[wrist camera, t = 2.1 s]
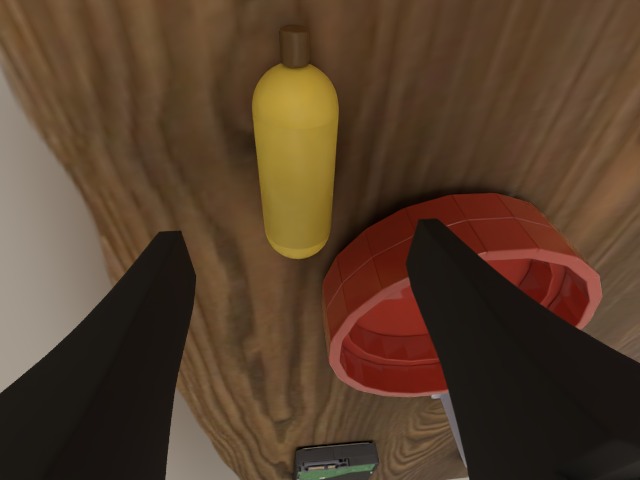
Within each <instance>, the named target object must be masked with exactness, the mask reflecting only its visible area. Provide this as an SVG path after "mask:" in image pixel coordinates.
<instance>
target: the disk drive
mask: <svg viewBox="0 0 640 480" xmlns="http://www.w3.org/2000/svg"><path fill="white" fill-rule="evenodd" d="M378 465H379V458H378V453H377V448H376V443H369V442H367V443H356V444H346V445H335V446H323V447H314V448H303V449H301V450H297V451H296V456H295V466H294V474H293V480H368V479H369V478H370V476H371V475H372V474H373V472H374V471H375V470H376V469H377V466H378Z"/></svg>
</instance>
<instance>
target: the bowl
mask: <svg viewBox="0 0 640 480" xmlns="http://www.w3.org/2000/svg"><path fill="white" fill-rule="evenodd" d="M433 218H437V219H439V220H440V221H441V222H442V223H443V224H444V225H446V226H447V227H448V228H449V229H450V230H451V231H452V232H453V233H454V234H456V235H457V236H458V237H459V238H460V239H461V240H462V241H463V242H464V243H465V244H467V245H468V246H469V247H470V248H471V249H472V250H473V251H474V252H475V253H477V254H478V255H479V256H480V257H481V258H482V259H483V260H485V261H486V262H487V263H488V264H489V265H490V266H492V267H493V268H494V269H495V270H496V271H498V272H499V273H500V274H501V275H502V276H504V277H505V278H506V279H508V280H509V281H510V282H511V283H513V284H514V285H515V286H516V287H518V288H519V289H520V290H522V291H523V292H524V293H526V294H527V295H528V296H530V297H531V298H532V299H534V300H535V301H537V302H538V303H540V304H541V305H543V306H544V307H546V308H547V309H548V310H550V311H551V312H553V313H554V314H556V315H557V316H559V317H560V318H562V319H563V320H565V321H567V322H568V323H570V324H571V325H573V326H575V327H576V328H578V329H580V330H581V329H582V328H583V327H584V326H585V325H586V324H587V323H588V322H590V320H591V319H592V317H593V315H594V313H595V311H596V309H597V307H598V305H599V303H600V301H601V299H602V291H601V283H600V276H599V274H598V273H597V272H596V270H595V269H594V268H593V267H592V266H591V265H590V264H589V263H588V261H587V260H586V259H585V258H584V257H583V256H582V255H581V254H580V253H579V251H578V250H577V249H576V248H575V247H574V246H573V245H572V244H571V243H570V241H569V240H568V239H567V238H566V237H565V236H564V235H563V234H562V232H561V231H560V230H559V229H558V228H557V227H556V226H555V225H554V224H553V222H552V221H551V220H550V219H549V218H547V217H546V216H545V215H544V214H543V213H542V212H541V211H540V210H538V209H537V208H536V207H535V206H534V205H533V204H532V203H529V202H527V201H523V200H519V199H516V198H512V197H508V196H505V195H501V194H498V193H476V194H452V195H447V196H443V197H440V198H436V199H433V200H429V201H426V202H422V203H419V204H416V205H412V206H409V207H406V208H403V209H401V210H399V211H397V212H395V213H394V214H392V215H390V216H388V217H386V218H385V219H383V220H381V221H379V222H377V223H376V224H374V225H372V226H370V227H368V228H366V229H365V230H364V231H363V232H362V233H361V234H360V235H358V236H357V237H356V238H355V239H354V240H353V241H352V242H351V243H350V244H349V245H348V246H347V247H346V248H345V249H343V250H342V251H341V252H340V253H339V254H338V255H337V256H336V258H335V260H334V261H333V263H332V265H331V267H330V269H329V271H328V272H327V274H326V276H325V278H324V280H323V283H322V298H321V307H322V315H323V323H324V330H325V338H326V346H327V353H328V361H329V364H330V365H331V367H332V368H333V370H334V372H335V373H336V375H337V377H338V378H339V380H341V381H343V382H345V383H346V384H348V385H350V386H351V387H353V388H355V389H357V390H360V391H364V392H368V393H373V394H377V395H381V396H396V397H417V396H427V395H438V394H445V393H449V392H448V388H447V385H446V381H445V378H444V374H443V371H442V367H441V364H440V361H439V358H438V356H437V353H436V350H435V348H434V345H433V343H432V340H431V338H430V335H429V333H428V330H427V328H426V325H425V323H424V320H423V318H422V315H421V313H420V310H419V308H418V305H417V303H416V300H415V297H414V295H413V292H412V289H411V285H410V281H409V277H408V273H407V269H406V264H405V263H406V259H407V256H408V253H409V249H410V246H411V243H412V239H413V236H414V233H415V229H416V226H417V223H418V219H433Z"/></svg>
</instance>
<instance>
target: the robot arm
mask: <svg viewBox="0 0 640 480" xmlns="http://www.w3.org/2000/svg"><path fill="white" fill-rule="evenodd" d="M405 264H406V269H407V273H408V277H409V281H410V285H411V289H412V292H413V295H414V297H415V300H416V303H417V305H418V308H419V310H420V313H421V315H422V318H423V320H424V323H425V325H426V328H427V330H428V333H429V335H430V338H431V340H432V343H433V345H434V348H435V350H436V353H437V356H438V358H439V361H440V364H441V367H442V371H443V374H444V378H445V381H446V385H447V388H448V392H449V393H445V394H438V395H430V396H431V398H441V400H442V403H443V406H444V409H445V412H446V415H447V418H448V421H449V423H450V426H451V429H452V432H453V435H454V438H455V441H456V443H457V446H458V449H459V452H460V455H461V458H462V460H463V462H464V464H465V466H466V468H467V470H468V475H469V480H640V363H639V362H637V361H635V360H633V359H631V358H629V357H627V356H625V355H623V354H621V353H619V352H618V351H616V350H614V349H612V348H610V347H609V346H607V345H605V344H603V343H602V342H600V341H598V340H596V339H595V338H593V337H591V336H590V335H588V334H586V333H585V332H583V331H581V330H580V329H578V328H576V327H575V326H573V325H571V324H570V323H568V322H567V321H565V320H563V319H562V318H560V317H559V316H557V315H556V314H554V313H553V312H551V311H550V310H548V309H547V308H546V307H544V306H543V305H541V304H540V303H538V302H537V301H535V300H534V299H532V298H531V297H530V296H528V295H527V294H526V293H524V292H523V291H522V290H520V289H519V288H518V287H516V286H515V285H514V284H513V283H511V282H510V281H509V280H508V279H506V278H505V277H504V276H502V275H501V274H500V273H499V272H498V271H496V270H495V269H494V268H493V267H492V266H490V265H489V264H488V263H487V262H486V261H485V260H483V259H482V258H481V257H480V256H479V255H478V254H477V253H475V252H474V251H473V250H472V249H471V248H470V247H469V246H468V245H467V244H465V243H464V242H463V241H462V240H461V239H460V238H459V237H458V236H457V235H456V234H454V233H453V232H452V231H451V230H450V229H449V228H448V227H447V226H446V225H444V224H443V223H442V222H441V221H440V220H439V219H437V218H433V219H418V223H417V226H416V229H415V233H414V236H413V239H412V243H411V246H410V249H409V253H408V256H407V259H406V263H405ZM195 285H196V274H195V271H194V268H193V265H192V262H191V259H190V256H189V253H188V250H187V247H186V244H185V241H184V238H183V235H182V232H181V231H164V232H159V233H158V234H157V235H156V236H155V237H154V239H153V240H152V241H151V242H150V244H149V245H148V246H147V247H146V249H145V250H144V251H143V252H142V254H141V255H140V256H139V257H138V259H137V260H136V261H135V262H134V263H133V265H132V266H131V267H130V268H129V270H128V271H127V272H126V273H125V274H124V275H123V277H122V278H121V279H120V280H119V281H118V283H117V284H116V285H115V286H114V287H113V288H112V290H111V291H110V292H109V293H108V294H107V295H106V296H105V297H104V299H102V301H101V302H100V303H99V304H98V305H97V306H96V307H95V308H94V309H93V310H92V311H91V312H90V314H88V316H87V317H86V318H85V319H84V320H83V321H82V322H81V323H80V324H79V325H78V326H77V327H76V328H75V329H74V330H73V331H72V332H71V333H70V334H69V335H68V336H66V337H65V338H64V339H63V340H62V341H61V342H60V343H59V344H58V345H57V346H56V347H55V348H54V349H53V350H51V351H50V352H49V353H48V354H47V355H46V356H45V357H44V358H42V359H41V360H40V361H39V362H38V363H36V364H35V365H34V366H33V367H32V368H30V369H29V370H28V371H27V372H26V373H25V374H23V375H22V376H21V377H20V378H19V379H17V380H16V381H15V382H14V383H12V384H11V385H10V386H9V387H8V388H6V389H5V390H4V391H3V392H1V393H0V480H165V475H166V464H167V454H168V444H169V435H170V426H171V417H172V409H173V401H174V393H175V387H176V382H177V377H178V372H179V368H180V363H181V359H182V355H183V350H184V346H185V342H186V337H187V333H188V329H189V324H190V320H191V315H192V311H193V305H194V296H195Z"/></svg>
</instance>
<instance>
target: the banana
mask: <svg viewBox="0 0 640 480" xmlns="http://www.w3.org/2000/svg"><path fill="white" fill-rule="evenodd" d="M279 35H280V58H281V63H280V64H278V65H276V66H274V67H272V68H271V69H270V70H268V71H267V72H266V73H265V74H264V75H263V76H262V78H261V79H260V81H259V82H258V84H257V86H256V88H255V91H254V94H253V99H252V115H253V124H254V133H255V143H256V152H257V161H258V171H259V180H260V190H261V199H262V208H263V218H264V227H265V233H266V237H267V239H268V241H269V243H270V245H271V246H272V247H273V248H274V249H275V250H276V251H277V252H278V253H280V254H281V255H283V256H286V257H289V258H293V259H302V258H307V257H310V256H312V255H314V254H316V253H317V252H319V251H320V250H321V249H322V247H323V246H324V245H325V244H326V242H327V240H328V238H329V234H330V230H331V217H332V202H333V188H334V174H335V159H336V145H337V130H338V116H339V104H338V98H337V94H336V91H335V89H334V86H333V84H332V83H331V81H330V80H329V79H328V77H327V76H326V75H325V74H324V73H323V72H322V71H321V70H319V69H318V68H316V67H315V66H313V65H311V64H309V45H310V31H309V29H308V28H307V27H304V26H300V25H287V26H283V27H281V28H280V31H279Z"/></svg>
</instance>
